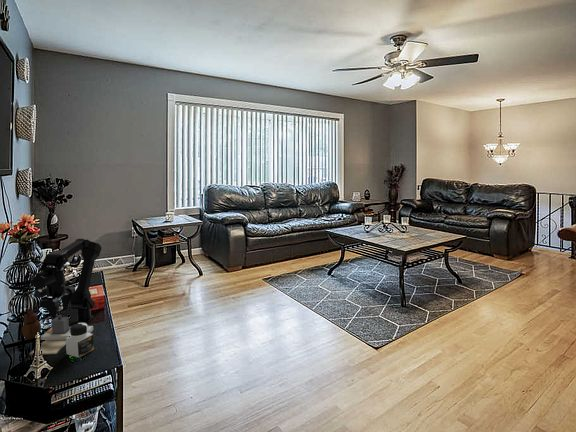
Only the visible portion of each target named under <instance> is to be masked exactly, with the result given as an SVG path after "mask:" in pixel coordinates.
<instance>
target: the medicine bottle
mask: <svg viewBox="0 0 576 432" xmlns="http://www.w3.org/2000/svg"><path fill="white" fill-rule="evenodd" d="M87 326H88V324H87V322H76V323H75V324H72V325H70V326H69V327H70V333H71V336H70V337H67V338H66V344H65V349H66V355H69V356H72V357H74V358H75V357H76V358H77V359H79V358H82V357H83V356H85V355H86V354H88V353H90V352H92V351H93V350H95V347H94V346H95V345H94V333H92V332H91V333H88V329H87Z"/></svg>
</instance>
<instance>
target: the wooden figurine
mask: <svg viewBox="0 0 576 432" xmlns="http://www.w3.org/2000/svg"><path fill="white" fill-rule="evenodd" d="M23 322H24V323H23V325H22V327H21V333H22V334H21V335H22V336H23V338H24V339H26V340H34V339H35V338H34V337H35V335H36V333H37V332H39V333H40V334H41V329H42V325H41V322H40V320H39V319H38V314H37V313H35V312H34V310H33V309H32V308H31V307H29V306H28V307H26V314H25V315H24V317H23Z"/></svg>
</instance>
